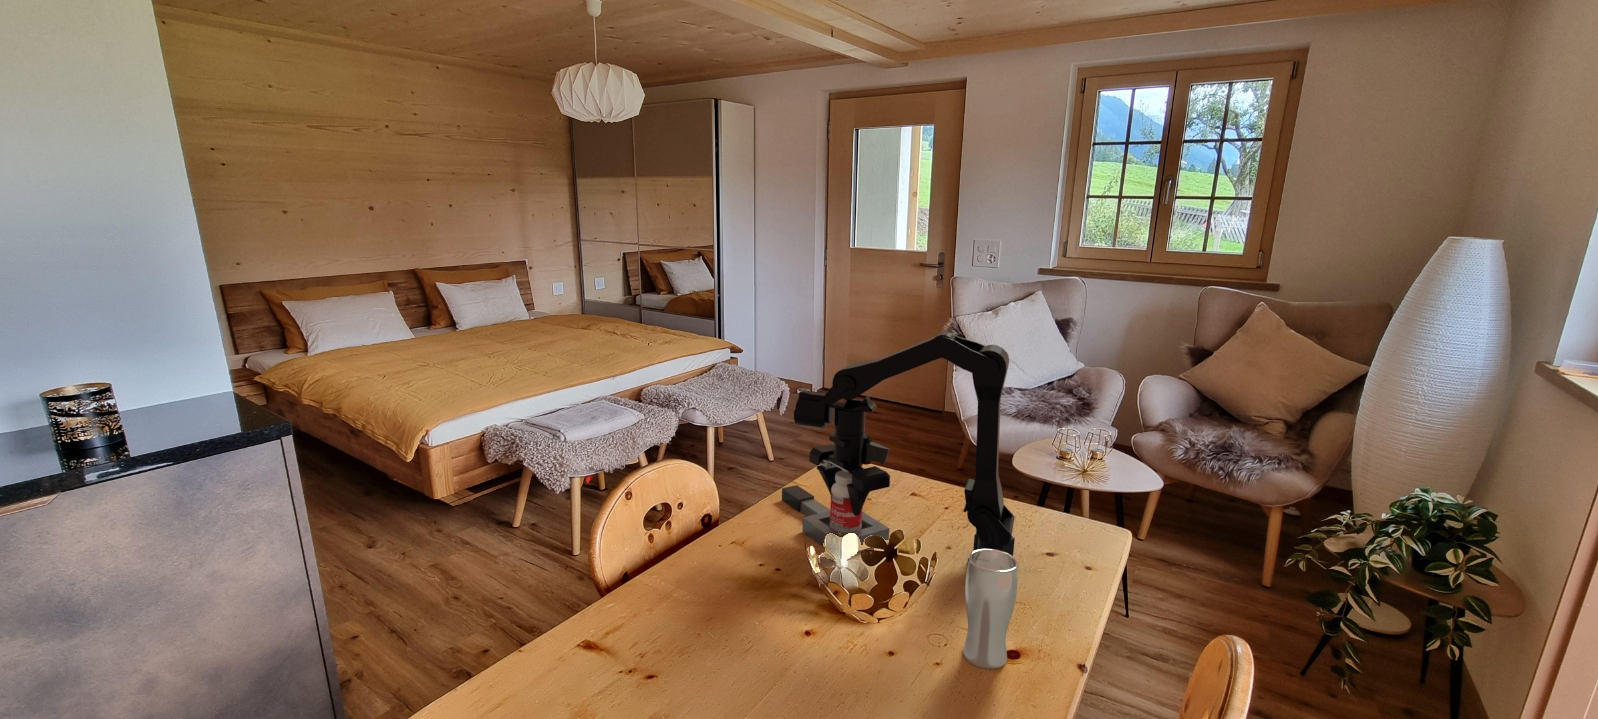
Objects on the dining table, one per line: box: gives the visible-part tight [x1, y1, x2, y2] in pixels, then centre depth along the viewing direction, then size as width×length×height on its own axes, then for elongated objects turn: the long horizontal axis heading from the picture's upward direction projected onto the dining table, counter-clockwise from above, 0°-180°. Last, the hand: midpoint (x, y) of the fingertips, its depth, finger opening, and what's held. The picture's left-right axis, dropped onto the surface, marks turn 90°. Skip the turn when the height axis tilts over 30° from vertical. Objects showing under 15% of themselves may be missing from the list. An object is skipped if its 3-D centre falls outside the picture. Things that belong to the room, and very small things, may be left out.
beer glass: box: [962, 549, 1019, 670], centre depth 97 cm, size 7×7×15 cm
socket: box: [781, 484, 890, 548], centre depth 140 cm, size 27×12×3 cm, turn 32°
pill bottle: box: [829, 470, 864, 535], centre depth 132 cm, size 6×6×11 cm
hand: (846, 508), depth 133 cm, fingers closed on pill bottle, 6 cm apart
